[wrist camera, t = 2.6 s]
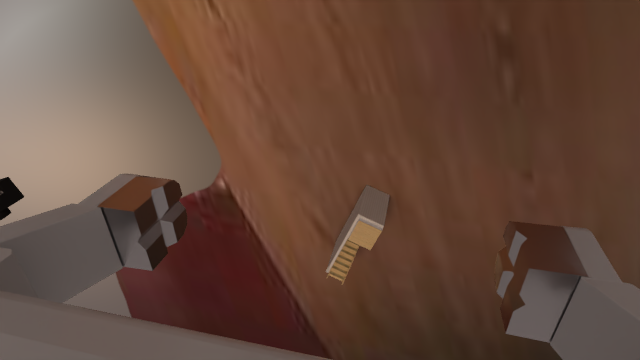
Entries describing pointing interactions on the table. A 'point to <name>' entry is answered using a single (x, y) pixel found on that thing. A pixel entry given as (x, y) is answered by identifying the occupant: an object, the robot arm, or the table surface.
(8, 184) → the digital camera
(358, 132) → the table surface
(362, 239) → the model
